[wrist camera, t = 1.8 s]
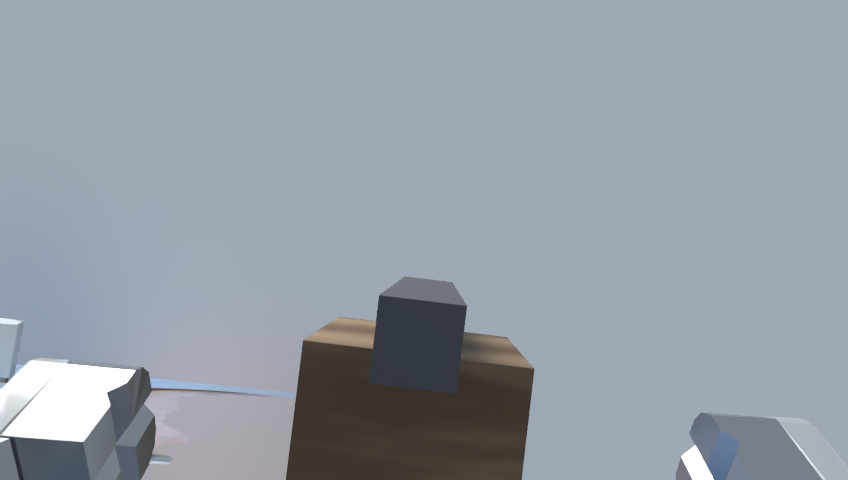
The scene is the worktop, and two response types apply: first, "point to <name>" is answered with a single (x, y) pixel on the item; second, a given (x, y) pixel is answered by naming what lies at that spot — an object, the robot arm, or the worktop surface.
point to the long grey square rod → (419, 336)
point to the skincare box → (9, 347)
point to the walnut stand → (407, 413)
